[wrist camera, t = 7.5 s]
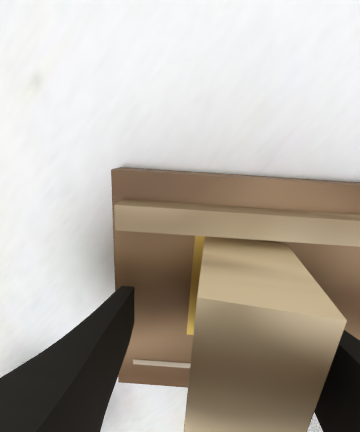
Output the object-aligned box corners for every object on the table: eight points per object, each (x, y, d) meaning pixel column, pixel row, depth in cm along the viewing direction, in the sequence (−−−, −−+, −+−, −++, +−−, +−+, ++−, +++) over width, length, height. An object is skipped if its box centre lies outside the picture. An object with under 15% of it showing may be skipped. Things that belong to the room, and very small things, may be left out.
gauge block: (254, 386, 13) (276, 517, 8) (190, 373, 14) (177, 489, 9) (286, 244, 10) (346, 320, 6) (205, 234, 11) (197, 297, 6)
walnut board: (425, 383, 15) (473, 429, 13) (124, 360, 16) (112, 402, 13) (531, 193, 11) (633, 206, 9) (120, 167, 11) (101, 172, 9)
